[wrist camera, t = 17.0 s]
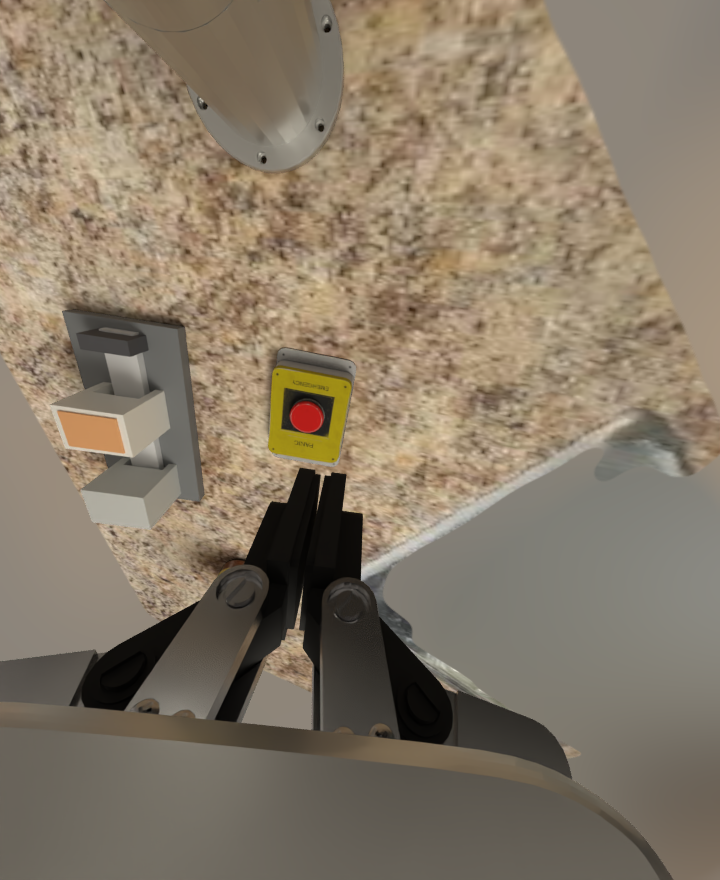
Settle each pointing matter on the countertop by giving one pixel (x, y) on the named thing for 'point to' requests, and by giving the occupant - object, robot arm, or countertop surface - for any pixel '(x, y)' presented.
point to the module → (110, 420)
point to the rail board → (135, 375)
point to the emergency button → (309, 406)
